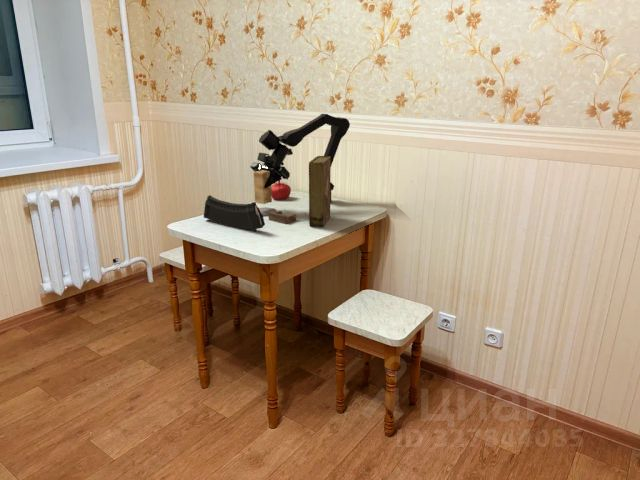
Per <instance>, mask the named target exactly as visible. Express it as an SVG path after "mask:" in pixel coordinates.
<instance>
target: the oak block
mask: <svg viewBox="0 0 640 480" xmlns="http://www.w3.org/2000/svg"><path fill="white" fill-rule="evenodd" d="M269 176H270V171H264V170H261V171H256V172H254V171H253V187H254V202H255V203H256V204H261V205H266V204H268V203H270V204H271V203H272V202H273V200H272V199H273V198H272V192H271V186H272V185H271V186H269V187H268V188H265V187H264V186H265V184H266V182H267V180H268V178H269Z"/></svg>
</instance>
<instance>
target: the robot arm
mask: <svg viewBox="0 0 640 480" xmlns="http://www.w3.org/2000/svg"><path fill="white" fill-rule="evenodd" d="M324 125H328V126H330V138H329V140H328V143H327V146H326V148H325V151H324V154H323V156H330V157H331V166H332V164H333V163H334V159H335V157H336V155H337V152H338V148H339V145H340V142H341V141H342V138H344V137H345V135H346V134H347V132H348V131H349V128H350V125H351V123H350V121H349V119H348V118H346V117H337V116H336V117H335V116H333V115H330V114H328V113H320V114H319V115H318V116H317V117H315V118H313V119H312V120H310V121H309V122H306V123H305V124H303V125H302V126H300V127H298V128H295V129H291V130H288V131H285V132H284V133H283V134H282V135H279V136H277V135H276V134H275V133H274V131H272V130H271V129H268V130H267V131H266V132H264V133H262V135H261V136H260V137H259V139H258V142H259V143H260V144H261V145H262V146H263V147H264V148H266V149H267V150H268V151H272V152H269V153H265V152H258V156H257V159H256V160H257V161H260V162H261V163H262V164H261V163H260V162H252V163H251V164H250V166H249V167H250V168H251V170H252V171H253V173H254V172H256V171H261V170H264V171H270V176H269V178H268V180H267V182H266V184H265V186H264V187H265V188H268V187H269V186H272V185H274V183H277V182H278V181H279V180H280V181H282V180H289V178H290V177H291V176H290V175H291V174H290V172H289V170H288V168H286V167H285V166H284V164H285V163H284V160H285V159H286V157H287V156H292V155H293V150H292V149H293V148H294V147H296V146H298V145H299V143H301V142H302V141H303V140H304V138H306V137H307V136H308V135H310V134H311V133H313V132H315V131H317V130H318V129H319V128H321V127H323V126H324ZM289 147H292V148H289ZM334 188H335V185H334V183H332V182H331V181H330V204H332V202H333V201H332V200H333V199H332V191H334Z"/></svg>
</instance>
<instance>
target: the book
mask: <svg viewBox="0 0 640 480" xmlns="http://www.w3.org/2000/svg"><path fill="white" fill-rule="evenodd" d="M331 168H332V165H331V157H330V156H324V155H317V156H316V157H313V159H312V160H310V161H309V162H308V210H309V211H308V215H309V216H308V218H309V219H308V223H309V226H310V227H315V226H316V227H321V228H322V227H325V225H326V224H327V223H328V221H329V220H330V218H331V203H330V182H331Z"/></svg>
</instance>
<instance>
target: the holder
mask: <svg viewBox="0 0 640 480" xmlns="http://www.w3.org/2000/svg"><path fill="white" fill-rule="evenodd" d="M268 220H269V221H270V222H271V221H272V222H276V223H281V224H283V225H287V224H289V223H291V222H294V221H297V214H296V213H292V214H289V215H285V214H283V210H278V211H277V212H274V213H272V212H270V213H269V216H268Z"/></svg>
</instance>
